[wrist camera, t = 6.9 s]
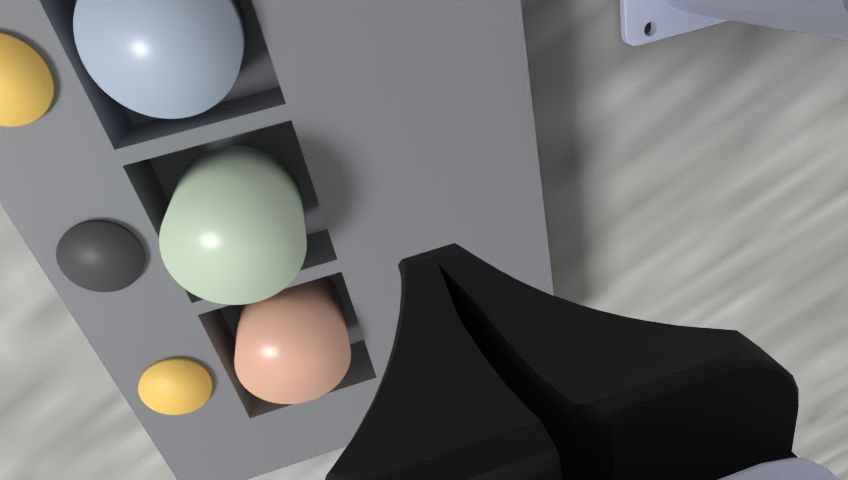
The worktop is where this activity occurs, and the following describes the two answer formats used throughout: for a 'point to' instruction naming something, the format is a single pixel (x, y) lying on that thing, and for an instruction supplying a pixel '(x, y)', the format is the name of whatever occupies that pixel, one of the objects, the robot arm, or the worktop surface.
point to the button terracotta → (293, 343)
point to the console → (319, 184)
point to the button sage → (234, 226)
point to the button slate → (162, 52)
